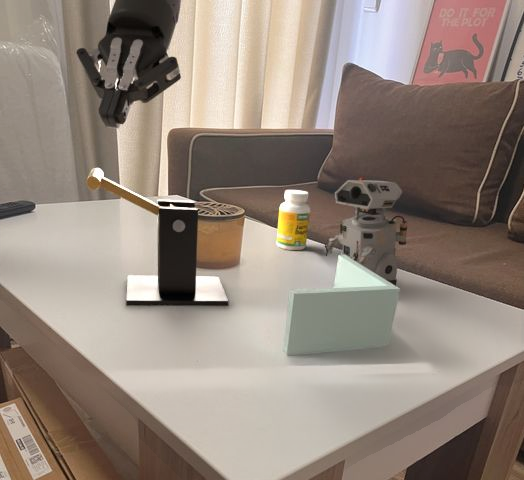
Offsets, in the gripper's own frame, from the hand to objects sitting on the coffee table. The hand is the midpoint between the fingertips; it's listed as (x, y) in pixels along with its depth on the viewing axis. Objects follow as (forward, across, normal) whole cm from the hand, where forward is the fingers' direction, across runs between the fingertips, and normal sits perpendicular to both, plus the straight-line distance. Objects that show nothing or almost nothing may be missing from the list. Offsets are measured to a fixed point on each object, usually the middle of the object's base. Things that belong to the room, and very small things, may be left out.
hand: (109, 122), depth 60 cm
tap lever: (+9, +4, +4) cm, 10 cm away
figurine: (+4, +31, +24) cm, 40 cm away
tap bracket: (+15, +8, +13) cm, 22 cm away
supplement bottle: (-8, +20, +36) cm, 42 cm away
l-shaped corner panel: (+19, +26, +10) cm, 34 cm away
